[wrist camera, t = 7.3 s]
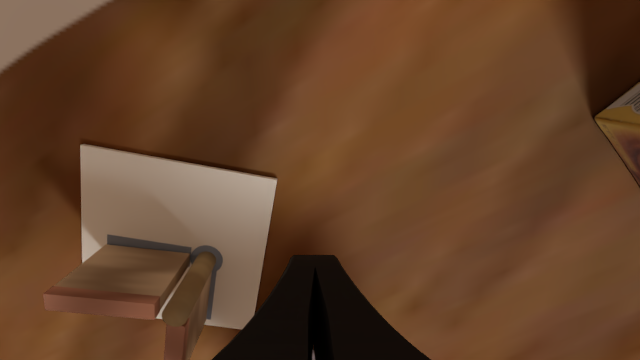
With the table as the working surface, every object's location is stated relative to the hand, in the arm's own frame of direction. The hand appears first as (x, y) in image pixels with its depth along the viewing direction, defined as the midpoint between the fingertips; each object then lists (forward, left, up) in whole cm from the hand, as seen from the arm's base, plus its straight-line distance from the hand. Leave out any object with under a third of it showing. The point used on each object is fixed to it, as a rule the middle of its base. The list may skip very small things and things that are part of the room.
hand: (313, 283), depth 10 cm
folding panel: (-6, +9, -9) cm, 15 cm away
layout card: (-6, +8, -10) cm, 14 cm away
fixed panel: (-8, +5, -10) cm, 14 cm away
